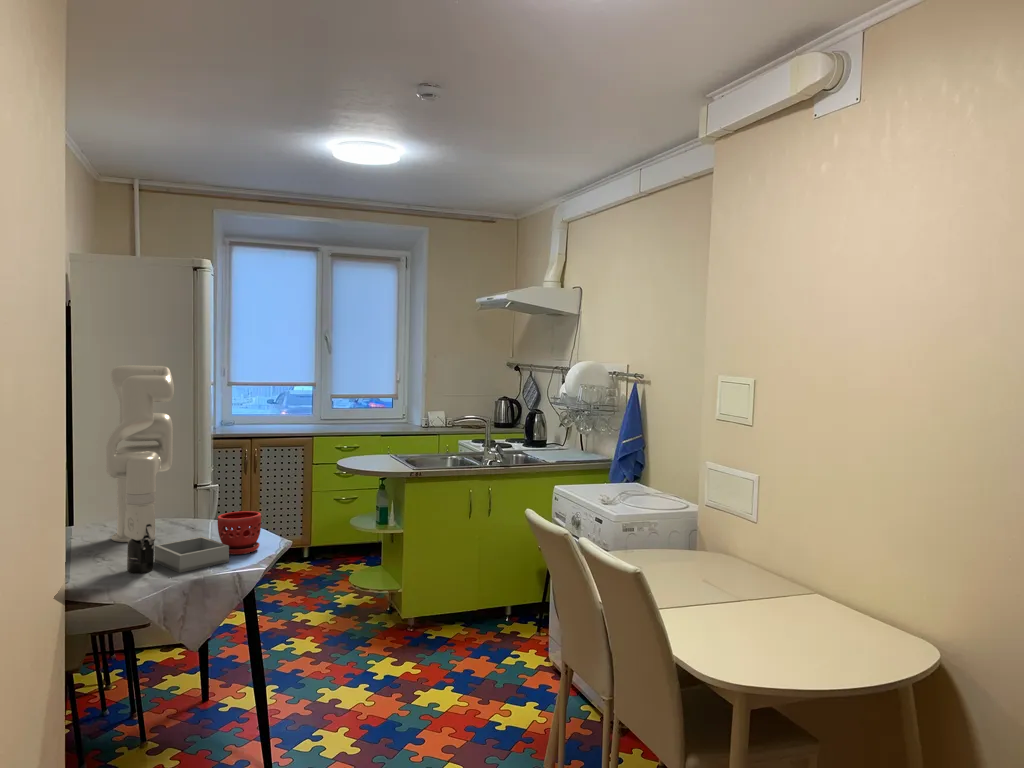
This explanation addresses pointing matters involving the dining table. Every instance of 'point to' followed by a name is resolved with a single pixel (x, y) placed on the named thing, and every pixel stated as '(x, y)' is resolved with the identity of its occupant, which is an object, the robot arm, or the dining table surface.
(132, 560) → the supplement bottle
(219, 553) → the tray
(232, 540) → the plant pot
